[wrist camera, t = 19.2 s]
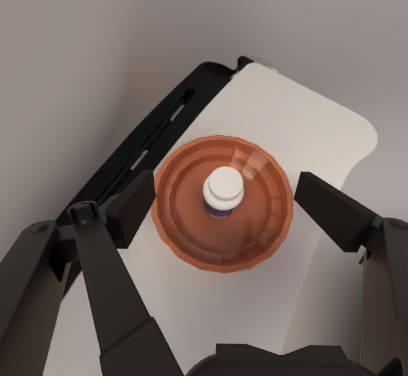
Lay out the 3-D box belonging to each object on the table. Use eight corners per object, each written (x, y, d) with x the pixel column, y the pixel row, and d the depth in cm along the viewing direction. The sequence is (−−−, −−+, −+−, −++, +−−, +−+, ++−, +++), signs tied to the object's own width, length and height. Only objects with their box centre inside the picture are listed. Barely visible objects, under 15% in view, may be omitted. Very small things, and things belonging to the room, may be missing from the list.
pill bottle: (235, 220, 24) (250, 205, 16) (202, 218, 24) (201, 203, 16) (235, 188, 26) (248, 161, 18) (203, 187, 26) (203, 159, 18)
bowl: (136, 231, 24) (122, 227, 20) (193, 137, 29) (191, 118, 25) (253, 294, 22) (265, 304, 17) (292, 178, 27) (309, 165, 23)
